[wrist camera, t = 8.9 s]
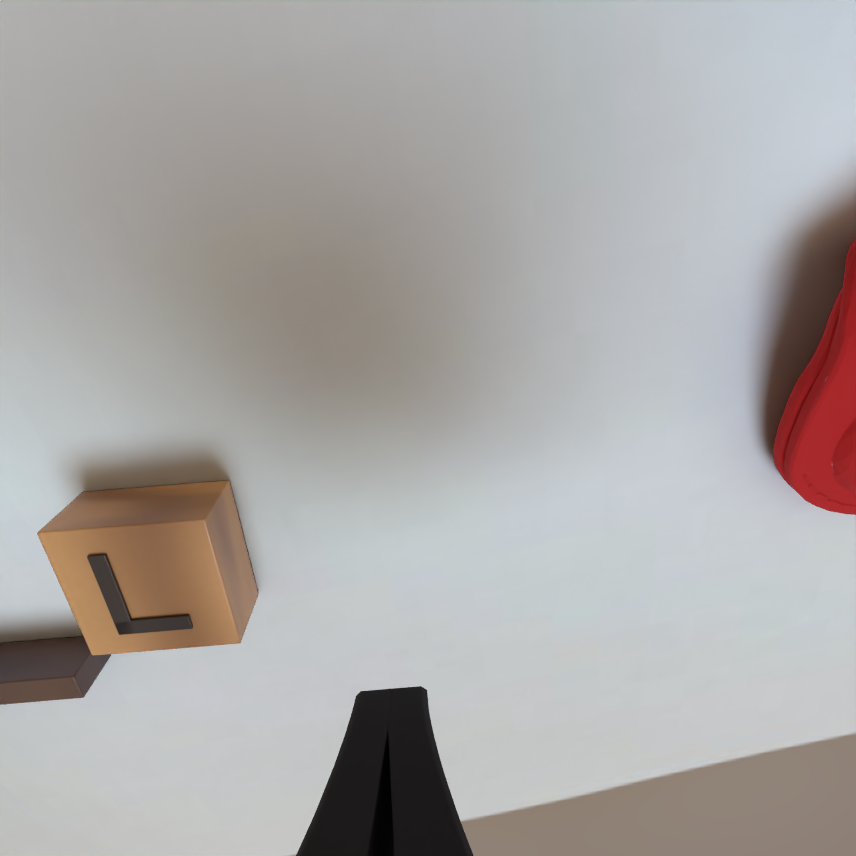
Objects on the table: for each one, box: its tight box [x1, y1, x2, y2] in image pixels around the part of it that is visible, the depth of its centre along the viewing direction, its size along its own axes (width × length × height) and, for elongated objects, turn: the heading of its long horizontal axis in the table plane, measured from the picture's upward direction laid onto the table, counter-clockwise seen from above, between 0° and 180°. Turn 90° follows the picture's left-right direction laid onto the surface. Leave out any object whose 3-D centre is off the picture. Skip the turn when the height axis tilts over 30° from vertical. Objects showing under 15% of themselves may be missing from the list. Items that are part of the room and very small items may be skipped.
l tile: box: [37, 481, 258, 655], centre depth 16 cm, size 5×5×2 cm
